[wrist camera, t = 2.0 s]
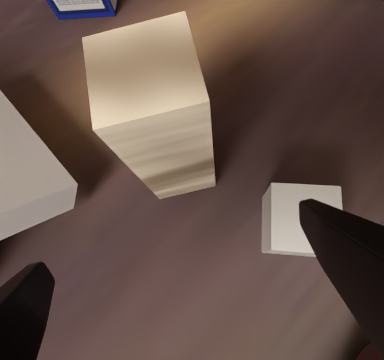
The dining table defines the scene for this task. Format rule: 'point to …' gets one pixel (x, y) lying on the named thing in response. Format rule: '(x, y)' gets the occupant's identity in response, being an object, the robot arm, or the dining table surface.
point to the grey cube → (291, 216)
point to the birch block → (152, 103)
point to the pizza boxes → (28, 176)
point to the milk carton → (83, 8)
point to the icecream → (369, 353)
